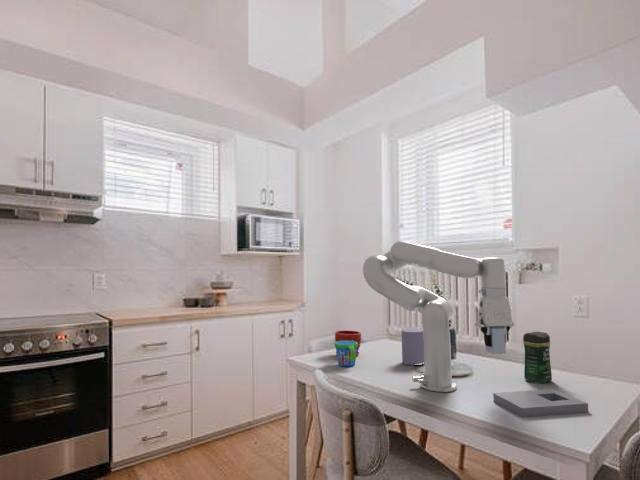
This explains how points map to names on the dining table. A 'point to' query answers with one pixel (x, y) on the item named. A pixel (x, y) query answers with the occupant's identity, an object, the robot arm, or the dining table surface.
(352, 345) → the snack cup
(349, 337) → the plant pot
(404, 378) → the dining table surface
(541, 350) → the coffee jar
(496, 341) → the block
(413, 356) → the container
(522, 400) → the grey board with hole
